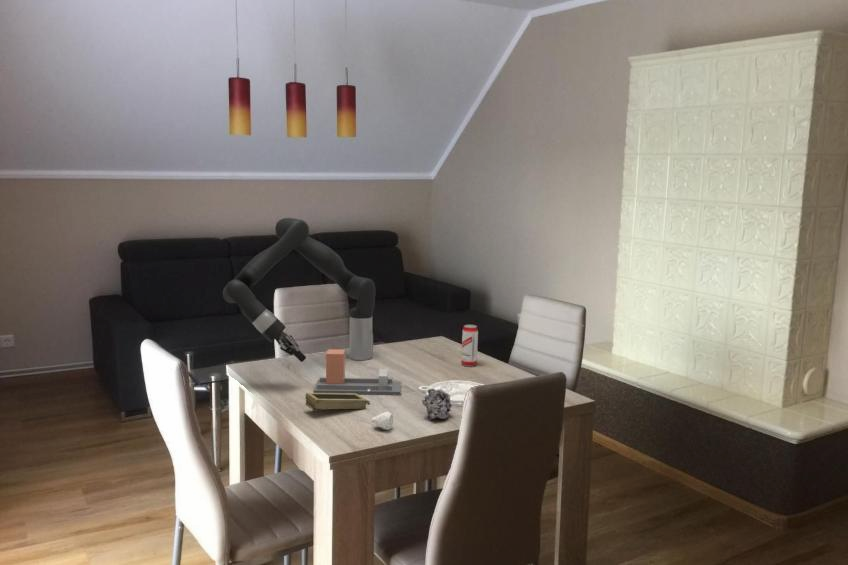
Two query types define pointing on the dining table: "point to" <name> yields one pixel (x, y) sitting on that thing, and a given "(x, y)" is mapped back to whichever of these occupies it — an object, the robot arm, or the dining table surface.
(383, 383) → the grey slide track
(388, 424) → the white seashell
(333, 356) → the salmon rectangular block
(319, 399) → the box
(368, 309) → the robot arm
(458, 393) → the medallion
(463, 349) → the beer can
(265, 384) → the dining table surface
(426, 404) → the mineral specimen
